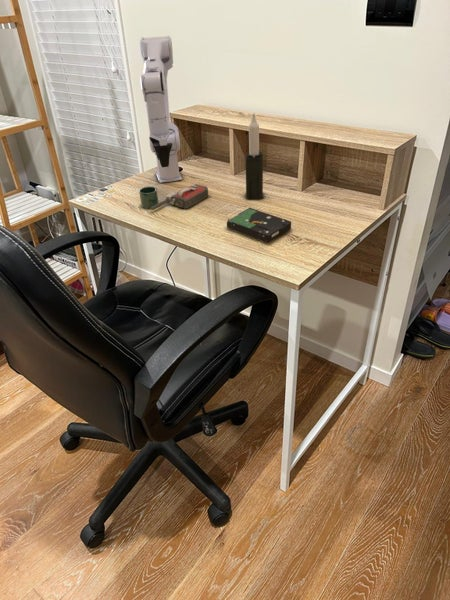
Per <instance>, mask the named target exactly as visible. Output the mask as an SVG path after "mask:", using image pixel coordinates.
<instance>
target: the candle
mask: <svg viewBox="0 0 450 600" xmlns="http://www.w3.org/2000/svg"><path fill="white" fill-rule="evenodd" d="M251 115H252V117H251V121H250V122H249V125H248V145H249V146H248V149H249V150H248V152H247V153H246V154H245V157H244V158H245V198H246V199H247V200H262V199H263V196H264V154H263V153H262V152H261V151H260V125H259V123H258V121H257V118H256V113H255V112H253V113H252V114H251Z"/></svg>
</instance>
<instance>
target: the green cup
mask: <svg viewBox="0 0 450 600" xmlns="http://www.w3.org/2000/svg"><path fill="white" fill-rule="evenodd" d="M138 193H139V200H140V205H141V207H142V208H143V209H149V210H151V209H150V208H151V207H152V206H154V205H156V204H158V203H160V201H159V194H158V189H157V188H156V187H155V186H144V187H141V188H140V189H138Z"/></svg>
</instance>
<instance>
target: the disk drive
mask: <svg viewBox="0 0 450 600" xmlns="http://www.w3.org/2000/svg"><path fill="white" fill-rule="evenodd" d="M226 228H227V229H229V230H231V231H234V232H237V233H239V234H242V235H245V236H247V237H249V238H252V239H255V240H258V241H260V242H263V243H267V244H269V243H271V242H273V241H274V240H276V239H278V238H280V237H281V236H283V235H285V234H286V233H288V232H289V231H290V230H292V221H291V220H288V219H286V218H282V217H279V216H276V215H273V214H270V213H266V212H264V211H261V210H258V209H255V208H252V207H248V208H247V209H245V210H243V211H240V212H239V213H237V214H236V215H234V216H233V217H231V218H227V221H226Z"/></svg>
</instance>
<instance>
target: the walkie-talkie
mask: <svg viewBox="0 0 450 600" xmlns="http://www.w3.org/2000/svg"><path fill="white" fill-rule="evenodd" d="M208 197H209V187H207V186H205V185H202V184H197V183H196V184H195V183H194V184H191V186H189V187H188V186H185V187H184V188H182V189H179V190H177V191H174V192H173V193H170V194H168V195H166V196H165V199H164V200H162V201H159V203H158V204H156V205H154V206H152V207H151V208H150V209H149V210H151V211H154V210H157V209H158V208H160V207H162V206H164V205H165V204H169V203H170V205H172V206H175V207H177V208H182V209H185V210H186V209H189V208H191V207H192V206H194V205H196V204H198V203H200V202H201V201H203V200H205V199H207V198H208Z"/></svg>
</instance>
